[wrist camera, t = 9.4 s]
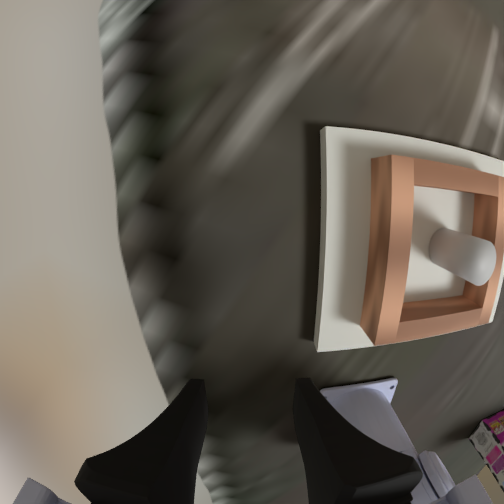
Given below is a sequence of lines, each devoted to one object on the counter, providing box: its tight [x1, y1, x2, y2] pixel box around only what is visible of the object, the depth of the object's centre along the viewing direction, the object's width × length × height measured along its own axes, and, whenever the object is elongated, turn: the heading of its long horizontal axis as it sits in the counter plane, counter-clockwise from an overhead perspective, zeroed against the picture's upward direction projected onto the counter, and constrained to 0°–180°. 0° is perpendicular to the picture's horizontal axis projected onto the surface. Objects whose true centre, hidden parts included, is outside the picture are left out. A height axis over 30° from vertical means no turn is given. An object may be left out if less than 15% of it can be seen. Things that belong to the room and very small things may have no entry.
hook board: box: [314, 126, 504, 352], centre depth 16 cm, size 16×20×6 cm
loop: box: [360, 155, 504, 346], centre depth 17 cm, size 12×12×3 cm
